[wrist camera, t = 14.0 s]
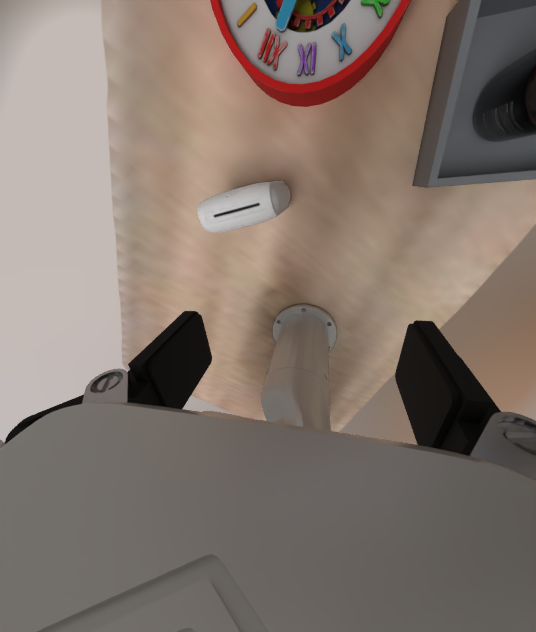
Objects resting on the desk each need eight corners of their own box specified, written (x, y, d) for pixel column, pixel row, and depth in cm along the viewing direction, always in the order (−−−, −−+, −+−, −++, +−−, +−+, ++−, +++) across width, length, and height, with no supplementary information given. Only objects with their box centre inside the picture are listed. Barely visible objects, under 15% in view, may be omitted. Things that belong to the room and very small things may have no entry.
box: (552, 174, 28) (597, 174, 23) (412, 185, 31) (427, 187, 26) (644, -27, 20) (738, -87, 16) (446, 17, 23) (475, -22, 19)
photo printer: (233, 223, 39) (198, 240, 28) (224, 195, 37) (184, 202, 26) (293, 208, 36) (279, 221, 25) (287, 176, 34) (270, 177, 23)
